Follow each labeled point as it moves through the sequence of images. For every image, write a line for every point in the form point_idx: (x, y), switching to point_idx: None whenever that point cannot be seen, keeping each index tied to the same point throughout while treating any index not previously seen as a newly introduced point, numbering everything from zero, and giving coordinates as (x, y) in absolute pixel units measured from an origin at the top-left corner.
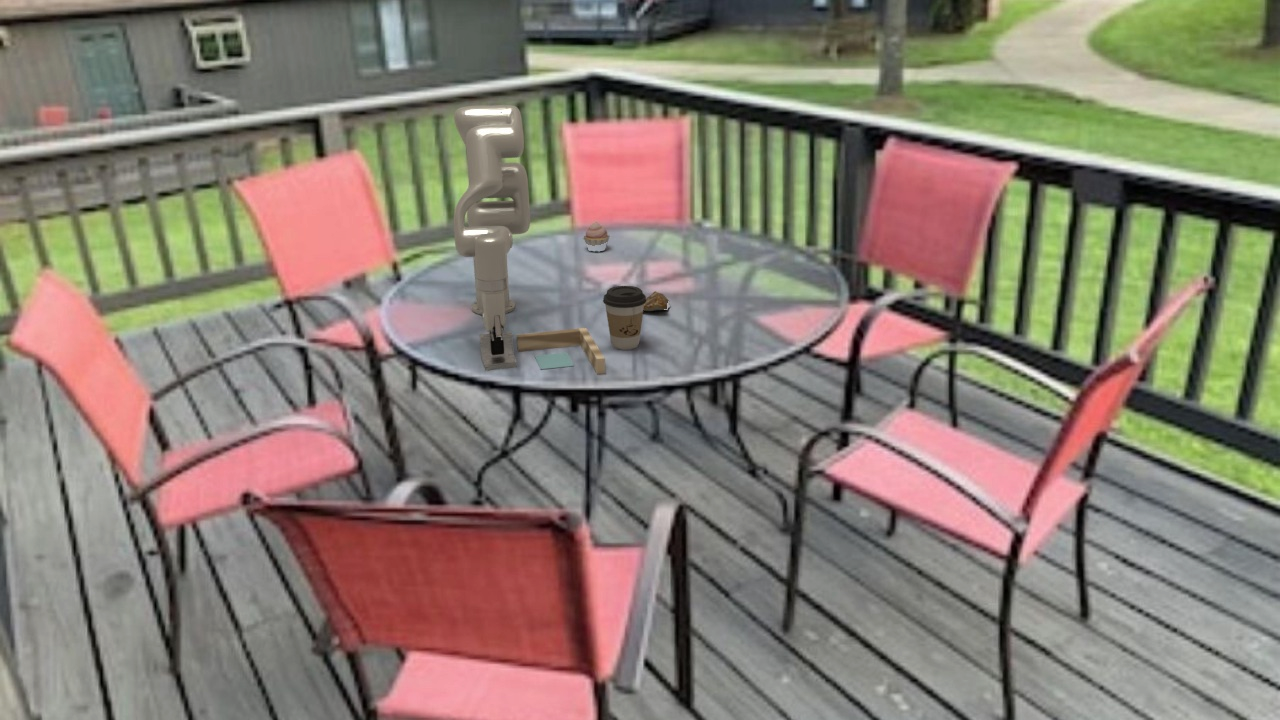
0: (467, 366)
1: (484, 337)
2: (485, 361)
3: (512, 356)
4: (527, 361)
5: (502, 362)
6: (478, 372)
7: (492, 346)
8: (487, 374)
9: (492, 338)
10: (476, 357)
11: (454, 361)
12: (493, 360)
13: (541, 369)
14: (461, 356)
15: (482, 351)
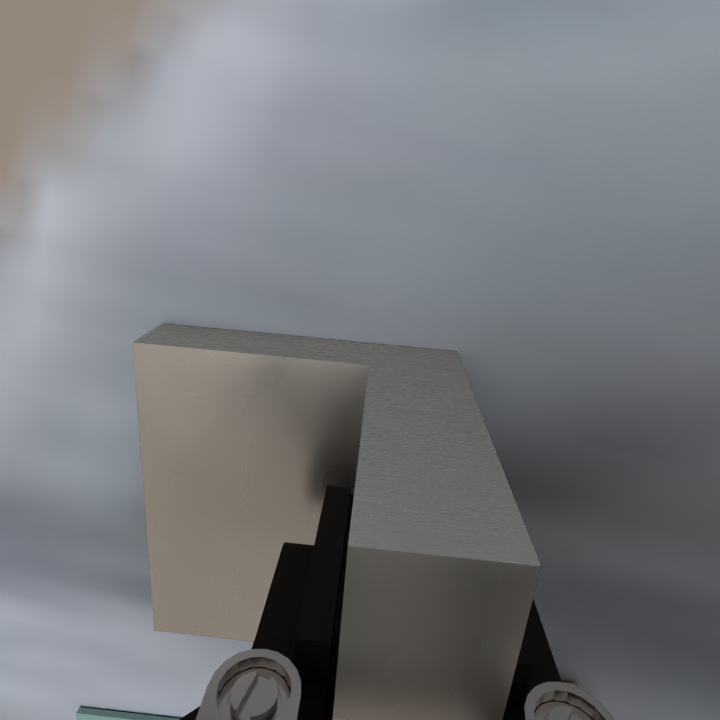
0: (333, 159)
1: (342, 607)
2: (236, 374)
3: None
4: None
5: (160, 523)
6: (126, 248)
7: (311, 571)
8: (57, 325)
9: (197, 716)
10: (559, 315)
11: (563, 15)
12: (242, 458)
13: (79, 713)
14: (685, 146)
15: (366, 406)
